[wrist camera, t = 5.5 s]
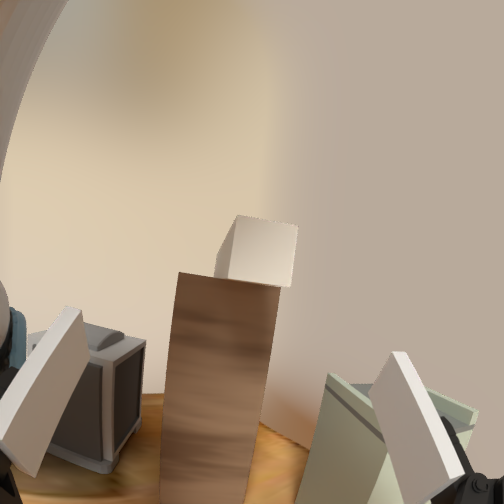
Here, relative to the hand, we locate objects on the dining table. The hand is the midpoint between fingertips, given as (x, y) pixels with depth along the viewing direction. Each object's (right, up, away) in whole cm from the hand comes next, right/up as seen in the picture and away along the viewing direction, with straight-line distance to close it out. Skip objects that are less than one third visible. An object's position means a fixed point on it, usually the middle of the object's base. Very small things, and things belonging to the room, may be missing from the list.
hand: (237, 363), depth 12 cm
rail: (-1, +2, +19) cm, 19 cm away
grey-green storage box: (+11, -28, +9) cm, 31 cm away
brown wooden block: (-6, -26, +22) cm, 35 cm away
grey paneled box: (-25, -24, +25) cm, 43 cm away
